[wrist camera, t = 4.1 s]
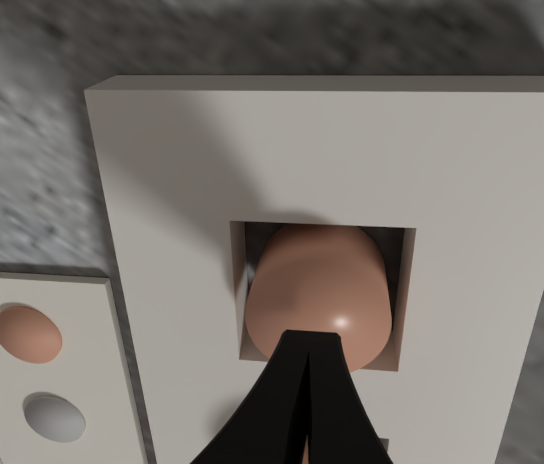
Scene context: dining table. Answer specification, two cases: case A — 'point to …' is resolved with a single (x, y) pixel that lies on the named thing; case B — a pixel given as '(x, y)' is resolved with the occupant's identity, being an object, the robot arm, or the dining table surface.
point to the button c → (321, 290)
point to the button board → (332, 211)
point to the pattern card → (64, 374)
